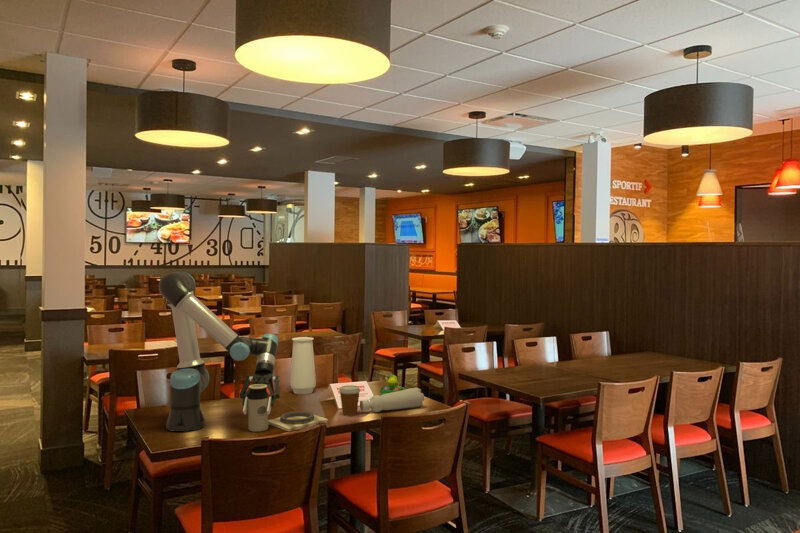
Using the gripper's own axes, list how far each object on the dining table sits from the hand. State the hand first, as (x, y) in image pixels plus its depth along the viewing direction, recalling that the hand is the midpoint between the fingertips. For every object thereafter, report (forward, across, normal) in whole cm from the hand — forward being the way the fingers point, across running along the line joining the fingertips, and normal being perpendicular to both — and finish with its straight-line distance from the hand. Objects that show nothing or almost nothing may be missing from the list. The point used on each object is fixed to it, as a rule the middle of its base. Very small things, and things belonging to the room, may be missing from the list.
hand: (256, 412), depth 249 cm
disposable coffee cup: (-14, -35, -25) cm, 45 cm away
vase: (-44, -7, -55) cm, 70 cm away
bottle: (-19, -54, -30) cm, 65 cm away
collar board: (-4, -14, -15) cm, 21 cm away
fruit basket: (-35, -54, -46) cm, 79 cm away
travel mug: (+3, 0, -8) cm, 9 cm away
